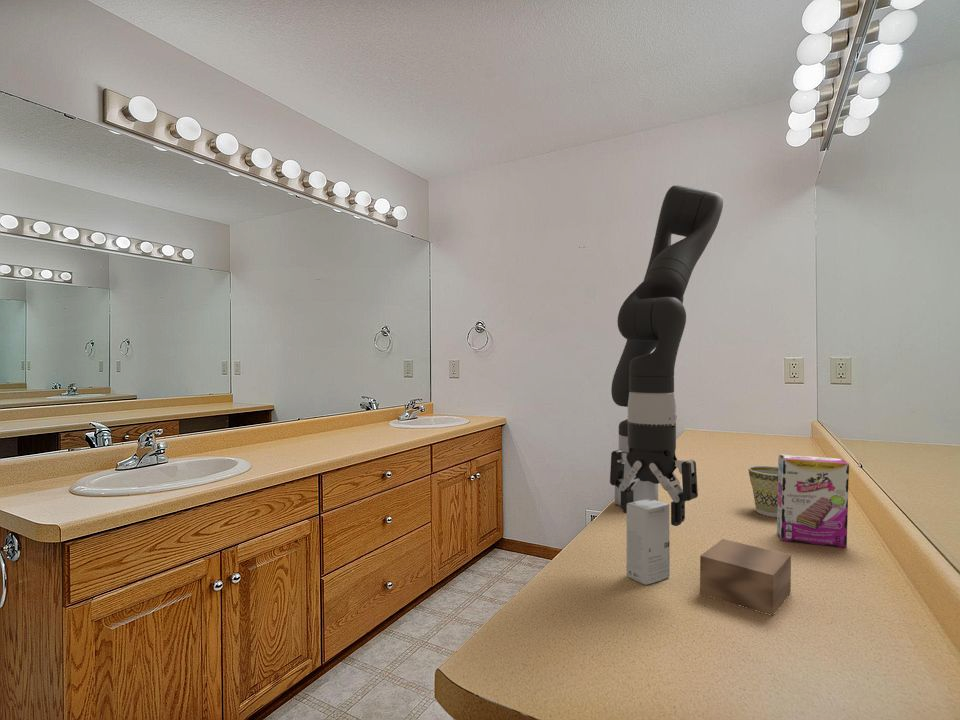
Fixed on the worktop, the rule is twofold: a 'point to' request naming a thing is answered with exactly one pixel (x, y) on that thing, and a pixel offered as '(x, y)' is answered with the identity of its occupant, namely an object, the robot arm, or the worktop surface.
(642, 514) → the skincare box
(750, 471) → the ceramic cup
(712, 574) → the walnut block
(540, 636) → the worktop surface
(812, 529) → the candy bar box
